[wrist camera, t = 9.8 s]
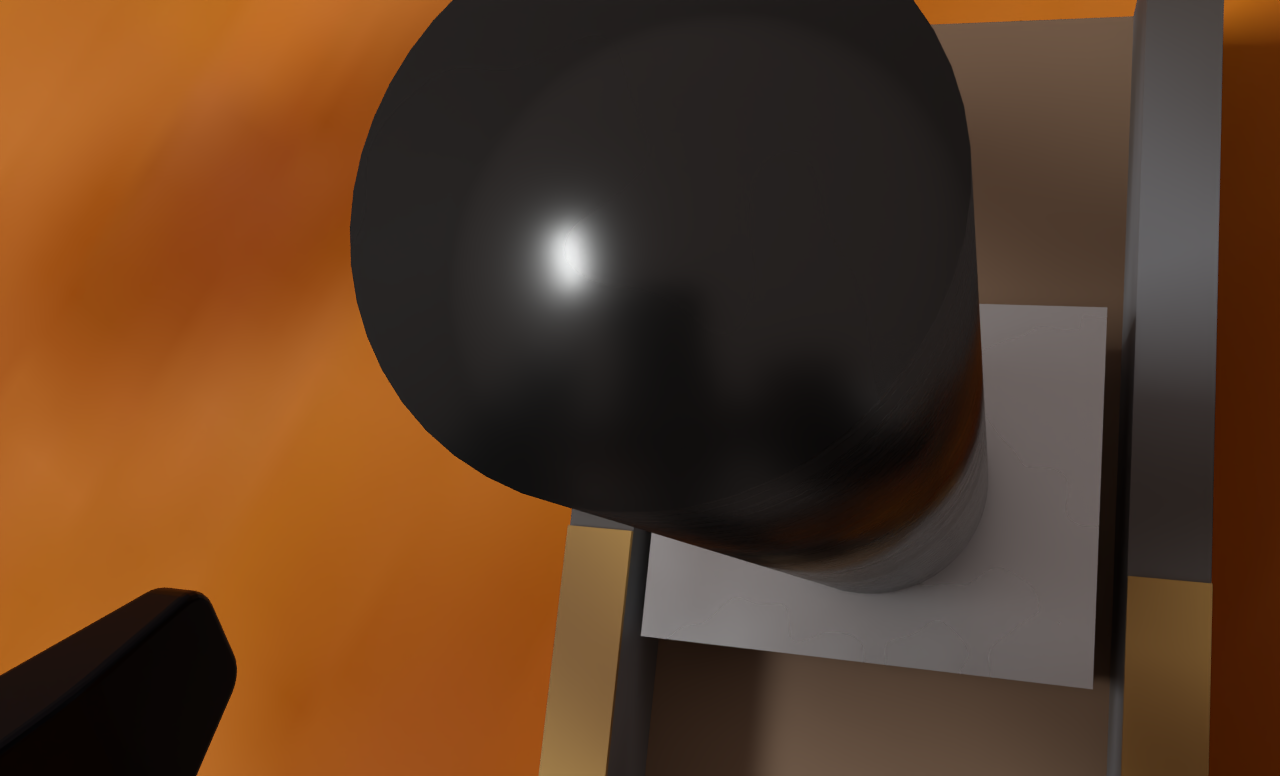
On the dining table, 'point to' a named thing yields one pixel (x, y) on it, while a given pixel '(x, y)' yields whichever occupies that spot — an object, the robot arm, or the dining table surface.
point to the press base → (1130, 467)
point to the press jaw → (740, 323)
